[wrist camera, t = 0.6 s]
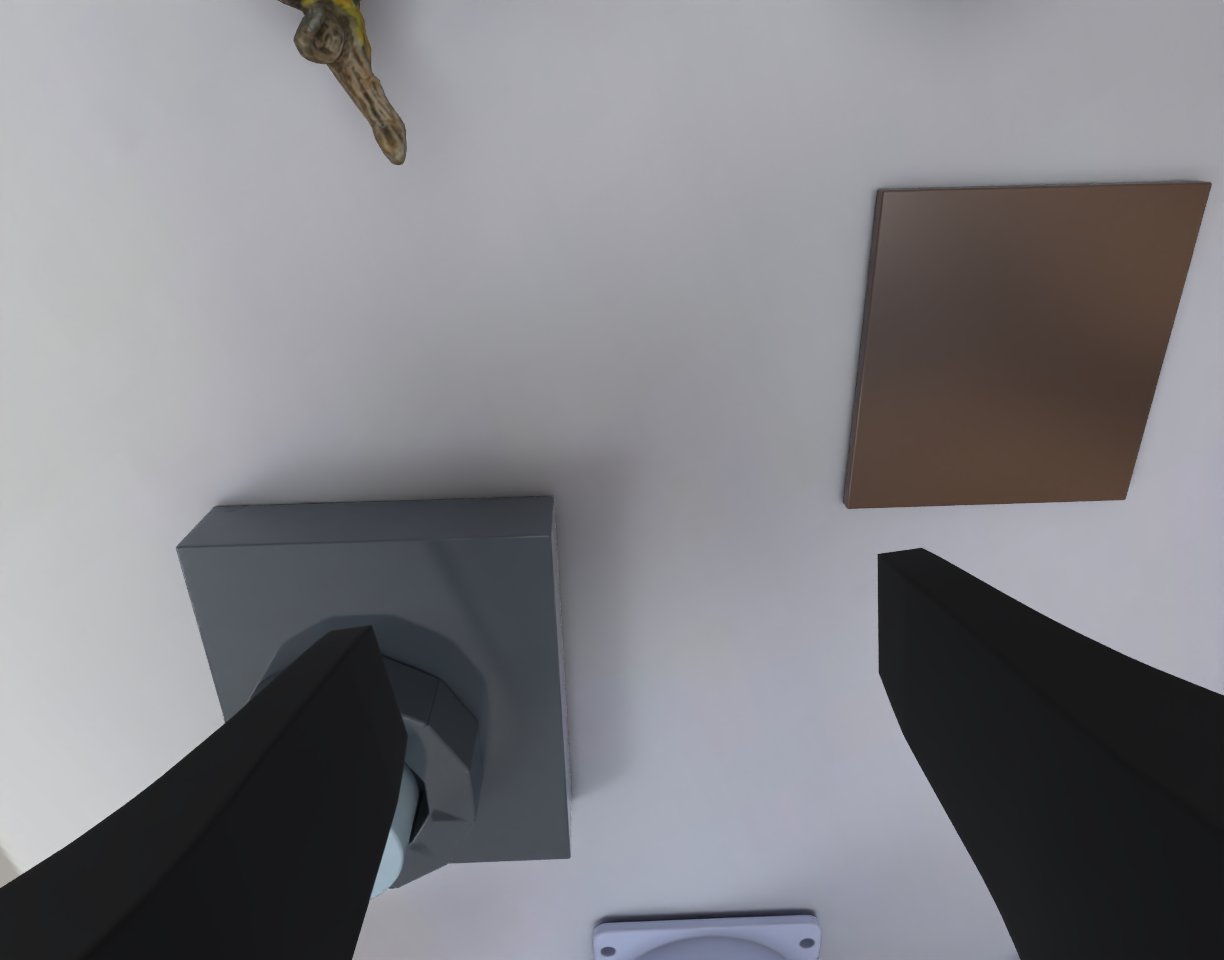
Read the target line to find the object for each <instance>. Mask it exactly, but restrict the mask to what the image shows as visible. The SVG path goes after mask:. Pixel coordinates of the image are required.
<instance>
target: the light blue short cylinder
mask: <svg viewBox="0 0 1224 960" xmlns="http://www.w3.org/2000/svg"><path fill="white" fill-rule="evenodd" d="M418 800H419V789H418V785H417V781H416V779H415V776H414V774H413V772H412V771H411V769H410V768H409V766H408V765H407V764H406V763H405V762H404V769H403V775H402V781H401V787H400V793H399V799H398V804H397V807H396V811H395V815H394V818H393V822H392V825H391V829H390V832H389V836H388V839H387V843H386V846H385V850H384V853H383V857H382V860H381V863H380V867H379V870H378V873H377V877H376V880H375V884H374V887H373V890H372V894H371V897H370V900H371V899H373V898H375V897H377V896H379V895H380V894H382V893H383V892H385V891H386V890H387V889H388V888H389V887H390V886H391V885H392V884H393V883H394V882H395V880H396V879H397V878H398V876H399V874H400V872H401V870H402V866H403V863H404V859H405V855H406V851H407V847H408V842H409V838H410V834H411V830H412V826H413V822H414V818H415V814H416V810H417V806H418Z"/></svg>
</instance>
